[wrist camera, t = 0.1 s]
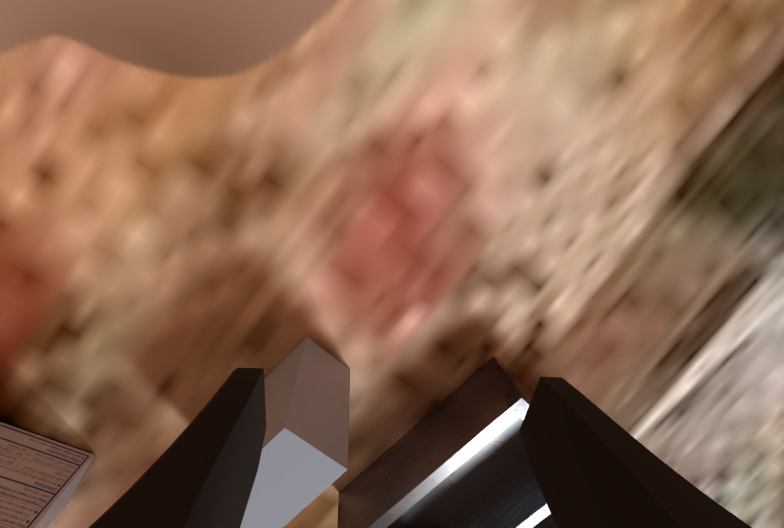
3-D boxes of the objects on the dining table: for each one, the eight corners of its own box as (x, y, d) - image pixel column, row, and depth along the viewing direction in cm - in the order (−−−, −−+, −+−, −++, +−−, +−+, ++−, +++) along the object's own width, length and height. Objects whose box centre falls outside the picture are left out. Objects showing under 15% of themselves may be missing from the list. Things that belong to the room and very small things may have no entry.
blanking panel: (250, 463, 23) (207, 594, 16) (206, 437, 22) (141, 564, 15) (349, 368, 21) (347, 469, 15) (307, 336, 20) (284, 427, 14)
